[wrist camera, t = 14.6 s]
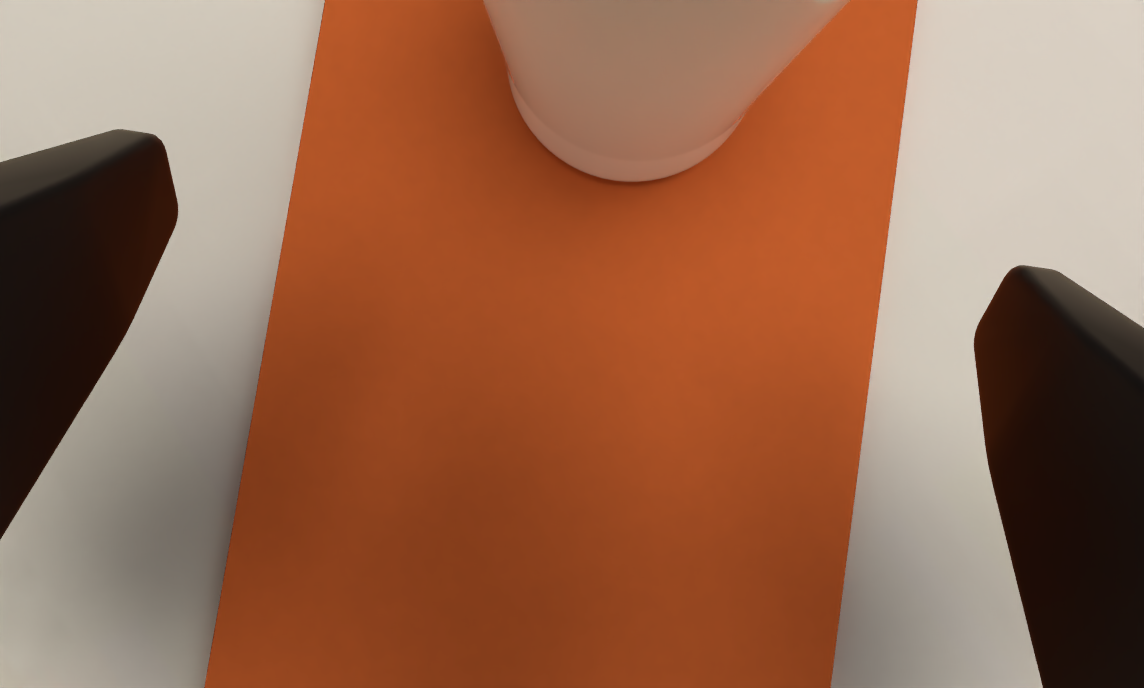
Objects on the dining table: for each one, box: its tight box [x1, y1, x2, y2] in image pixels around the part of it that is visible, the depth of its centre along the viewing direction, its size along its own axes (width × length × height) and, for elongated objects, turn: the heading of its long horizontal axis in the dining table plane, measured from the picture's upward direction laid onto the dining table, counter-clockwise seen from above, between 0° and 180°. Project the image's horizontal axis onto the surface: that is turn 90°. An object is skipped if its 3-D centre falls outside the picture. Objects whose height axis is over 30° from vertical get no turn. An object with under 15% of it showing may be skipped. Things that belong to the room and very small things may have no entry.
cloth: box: [204, 0, 918, 688], centre depth 18 cm, size 22×13×1 cm, turn 171°
